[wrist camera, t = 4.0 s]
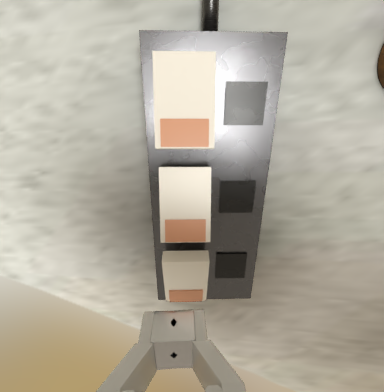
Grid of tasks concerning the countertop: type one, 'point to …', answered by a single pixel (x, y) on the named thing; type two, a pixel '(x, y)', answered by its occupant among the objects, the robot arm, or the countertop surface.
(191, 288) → the block
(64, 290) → the countertop surface
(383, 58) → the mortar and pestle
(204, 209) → the rocker middle
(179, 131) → the rocker
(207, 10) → the power strip
